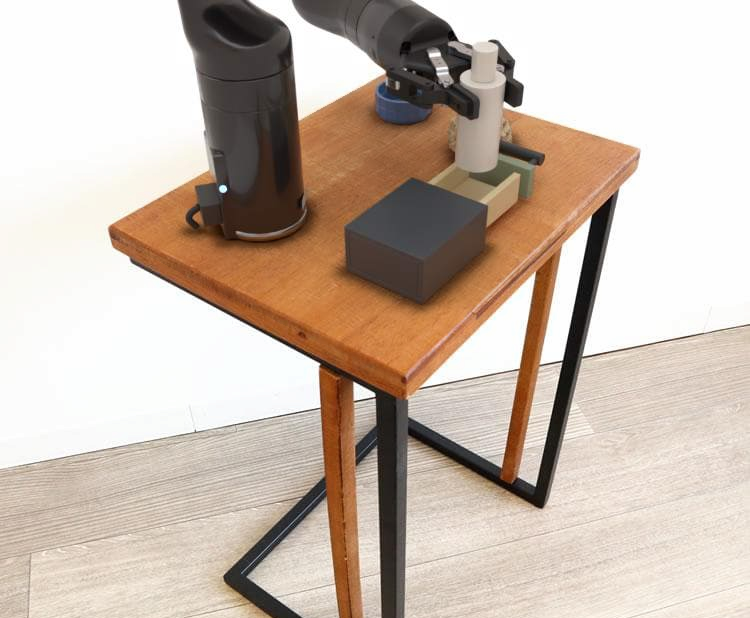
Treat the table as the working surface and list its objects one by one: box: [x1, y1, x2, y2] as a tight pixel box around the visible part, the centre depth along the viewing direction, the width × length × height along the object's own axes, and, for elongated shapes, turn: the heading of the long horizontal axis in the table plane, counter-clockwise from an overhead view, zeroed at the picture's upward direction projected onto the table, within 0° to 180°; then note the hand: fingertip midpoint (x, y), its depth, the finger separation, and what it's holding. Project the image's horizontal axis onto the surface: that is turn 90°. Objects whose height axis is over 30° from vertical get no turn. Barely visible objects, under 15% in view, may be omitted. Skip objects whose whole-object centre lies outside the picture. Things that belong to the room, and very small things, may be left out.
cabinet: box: [343, 176, 488, 305], centre depth 83 cm, size 11×9×5 cm
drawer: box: [427, 139, 546, 229], centre depth 91 cm, size 14×8×4 cm, turn 143°
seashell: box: [446, 113, 513, 155], centre depth 100 cm, size 8×6×10 cm
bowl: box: [374, 79, 433, 125], centre depth 107 cm, size 7×7×3 cm
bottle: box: [454, 41, 506, 173], centre depth 82 cm, size 4×4×12 cm
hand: (498, 103), depth 80 cm, fingers closed on bottle, 4 cm apart
